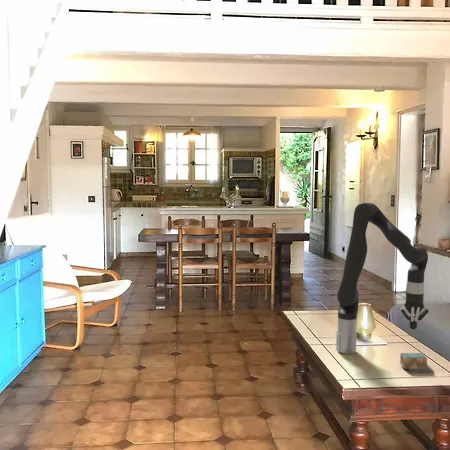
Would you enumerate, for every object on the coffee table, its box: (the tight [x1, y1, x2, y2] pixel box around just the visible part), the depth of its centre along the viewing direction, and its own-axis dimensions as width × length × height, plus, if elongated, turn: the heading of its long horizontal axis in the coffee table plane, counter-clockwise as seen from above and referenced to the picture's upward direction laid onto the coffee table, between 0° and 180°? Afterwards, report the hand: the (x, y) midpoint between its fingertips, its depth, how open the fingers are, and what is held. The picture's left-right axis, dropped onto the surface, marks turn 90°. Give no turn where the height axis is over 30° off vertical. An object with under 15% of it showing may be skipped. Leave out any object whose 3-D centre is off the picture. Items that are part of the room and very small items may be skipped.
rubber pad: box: [408, 363, 435, 374], centre depth 234 cm, size 10×10×1 cm
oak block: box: [399, 352, 428, 370], centre depth 233 cm, size 5×6×10 cm
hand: (413, 328), depth 232 cm, fingers closed
